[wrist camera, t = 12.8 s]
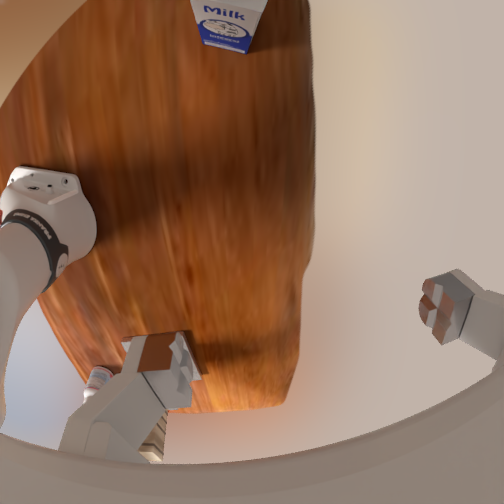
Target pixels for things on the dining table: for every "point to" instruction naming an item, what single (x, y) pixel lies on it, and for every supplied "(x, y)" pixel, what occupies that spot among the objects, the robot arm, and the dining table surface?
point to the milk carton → (228, 22)
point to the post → (155, 441)
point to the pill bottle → (96, 381)
